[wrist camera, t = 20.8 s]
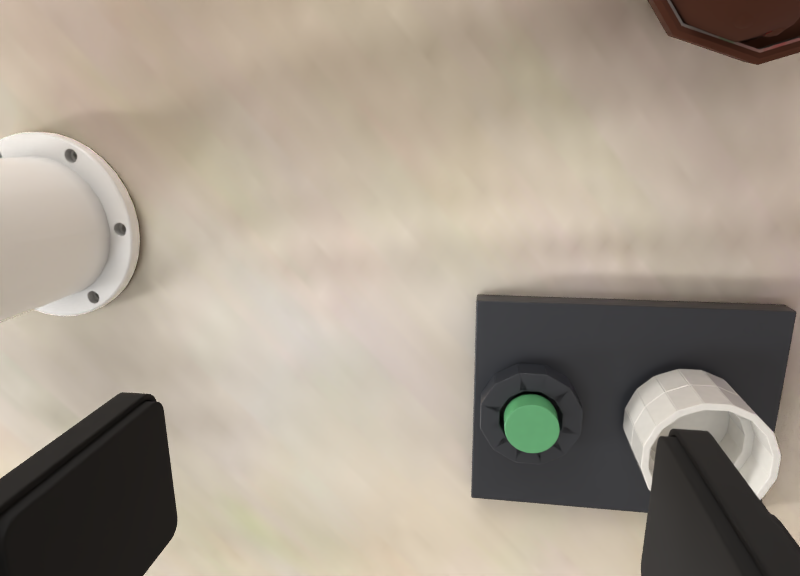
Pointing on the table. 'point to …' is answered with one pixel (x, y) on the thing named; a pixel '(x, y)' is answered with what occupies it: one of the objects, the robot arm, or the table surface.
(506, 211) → the table surface
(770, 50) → the ice cream bowl
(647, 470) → the bowl
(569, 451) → the scale
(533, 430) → the button
